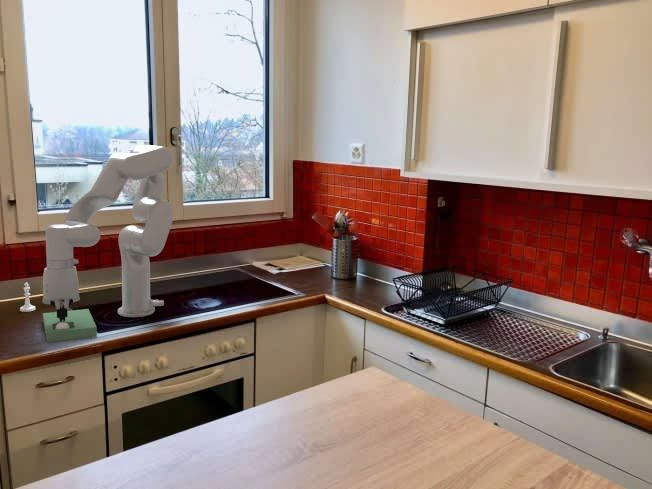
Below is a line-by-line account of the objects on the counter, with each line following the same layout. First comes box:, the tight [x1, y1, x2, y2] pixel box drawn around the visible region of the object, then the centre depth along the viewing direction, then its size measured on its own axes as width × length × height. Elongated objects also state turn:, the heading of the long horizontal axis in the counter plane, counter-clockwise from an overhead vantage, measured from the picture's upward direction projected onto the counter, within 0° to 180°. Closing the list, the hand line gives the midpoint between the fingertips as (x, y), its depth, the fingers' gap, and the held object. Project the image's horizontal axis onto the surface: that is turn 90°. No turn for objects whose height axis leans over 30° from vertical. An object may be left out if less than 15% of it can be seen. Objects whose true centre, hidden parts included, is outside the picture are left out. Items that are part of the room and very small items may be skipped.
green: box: [42, 308, 98, 343], centre depth 178 cm, size 14×20×3 cm
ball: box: [55, 322, 69, 330], centre depth 172 cm, size 4×4×4 cm
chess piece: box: [19, 281, 37, 313], centre depth 194 cm, size 5×5×10 cm
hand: (62, 319), depth 176 cm, fingers closed
